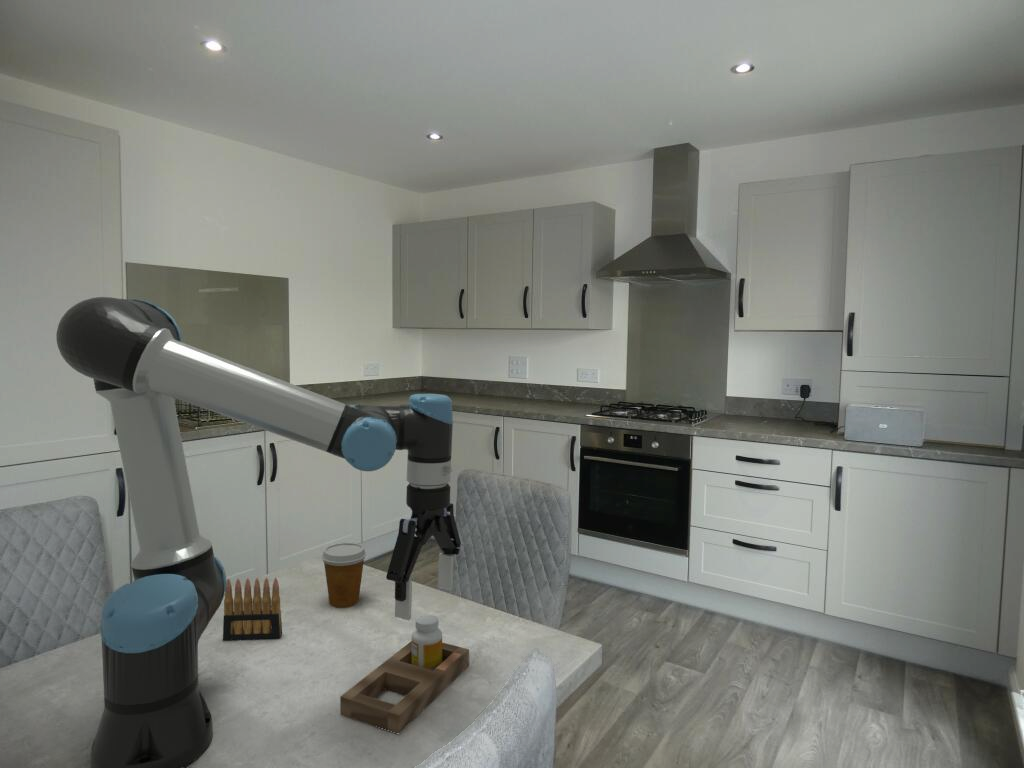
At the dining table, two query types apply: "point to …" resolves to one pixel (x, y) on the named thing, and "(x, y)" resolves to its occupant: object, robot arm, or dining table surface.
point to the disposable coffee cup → (343, 573)
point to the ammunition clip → (252, 612)
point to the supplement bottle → (427, 643)
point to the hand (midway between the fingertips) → (425, 602)
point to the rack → (402, 688)
